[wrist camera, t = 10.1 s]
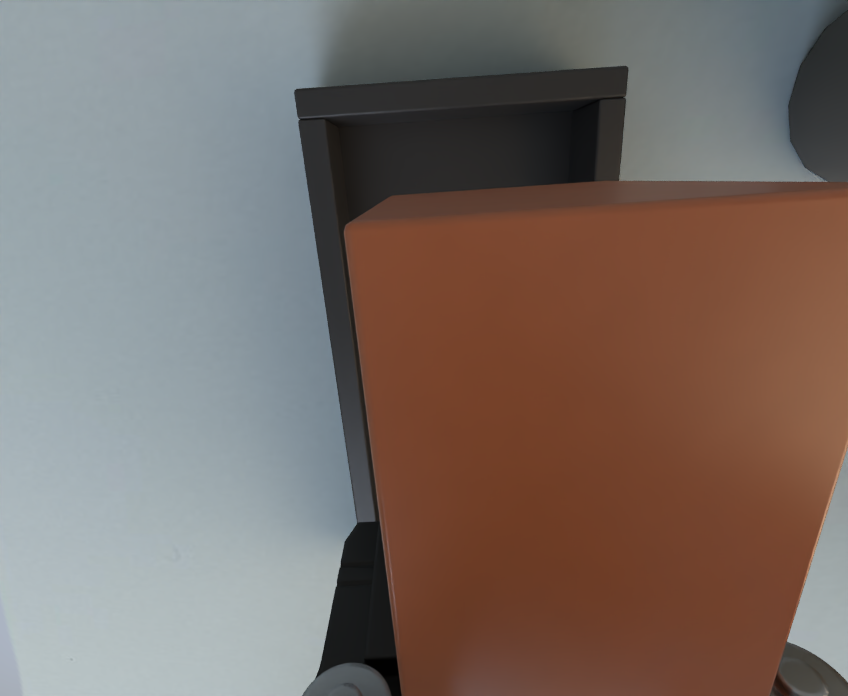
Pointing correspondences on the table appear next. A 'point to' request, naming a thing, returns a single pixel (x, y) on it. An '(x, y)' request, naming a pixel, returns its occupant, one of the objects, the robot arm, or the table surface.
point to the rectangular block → (602, 428)
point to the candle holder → (823, 105)
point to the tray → (439, 175)
